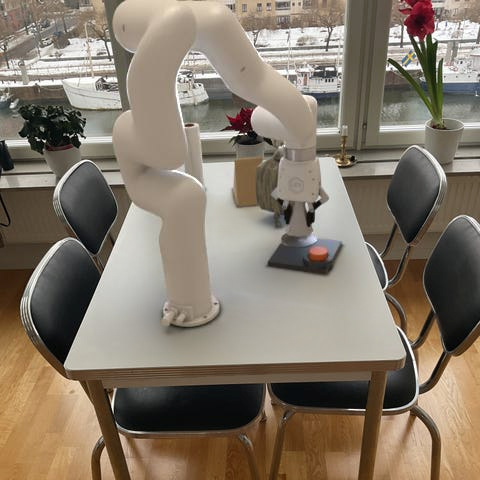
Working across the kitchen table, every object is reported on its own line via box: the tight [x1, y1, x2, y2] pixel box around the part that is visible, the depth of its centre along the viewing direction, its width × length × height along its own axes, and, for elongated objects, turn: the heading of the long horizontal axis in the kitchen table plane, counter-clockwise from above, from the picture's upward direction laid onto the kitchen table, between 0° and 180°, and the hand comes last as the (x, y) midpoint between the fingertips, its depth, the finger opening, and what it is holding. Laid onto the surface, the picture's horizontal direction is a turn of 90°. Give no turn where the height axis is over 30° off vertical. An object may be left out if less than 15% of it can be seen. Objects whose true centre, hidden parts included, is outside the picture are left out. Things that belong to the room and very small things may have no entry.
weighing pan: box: [280, 232, 319, 248], centre depth 139 cm, size 9×9×1 cm
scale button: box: [309, 247, 328, 261], centre depth 131 cm, size 4×4×2 cm
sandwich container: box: [232, 156, 264, 208], centre depth 168 cm, size 9×15×15 cm, turn 6°
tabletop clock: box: [255, 139, 307, 228], centre depth 150 cm, size 14×9×25 cm, turn 137°
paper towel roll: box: [183, 122, 206, 191], centre depth 172 cm, size 7×6×21 cm
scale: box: [267, 237, 343, 276], centre depth 137 cm, size 16×16×3 cm
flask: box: [285, 201, 314, 237], centre depth 134 cm, size 7×7×10 cm
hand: (299, 222), depth 136 cm, fingers closed on flask, 4 cm apart
